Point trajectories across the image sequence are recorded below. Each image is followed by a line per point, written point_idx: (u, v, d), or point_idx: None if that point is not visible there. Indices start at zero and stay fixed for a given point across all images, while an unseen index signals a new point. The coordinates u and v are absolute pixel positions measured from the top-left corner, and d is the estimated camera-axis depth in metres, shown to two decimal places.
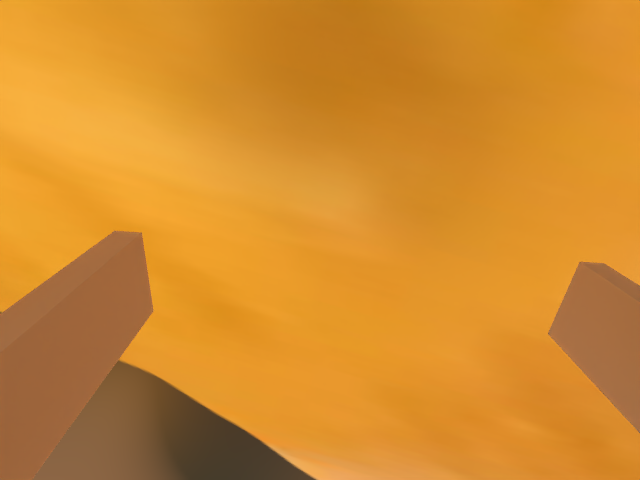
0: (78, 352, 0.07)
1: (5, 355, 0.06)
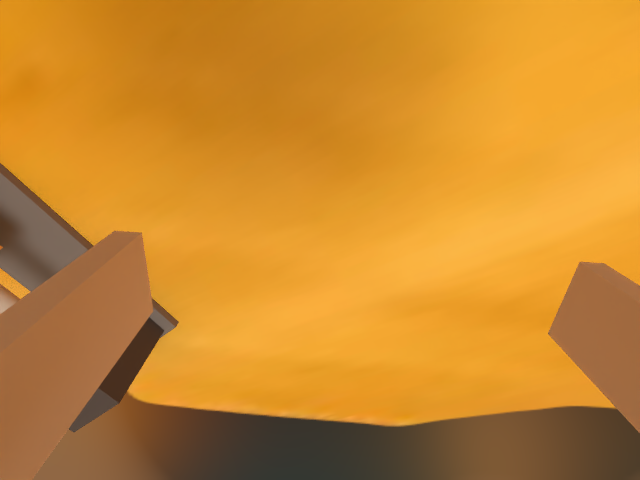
0: (78, 352, 0.07)
1: (5, 355, 0.06)
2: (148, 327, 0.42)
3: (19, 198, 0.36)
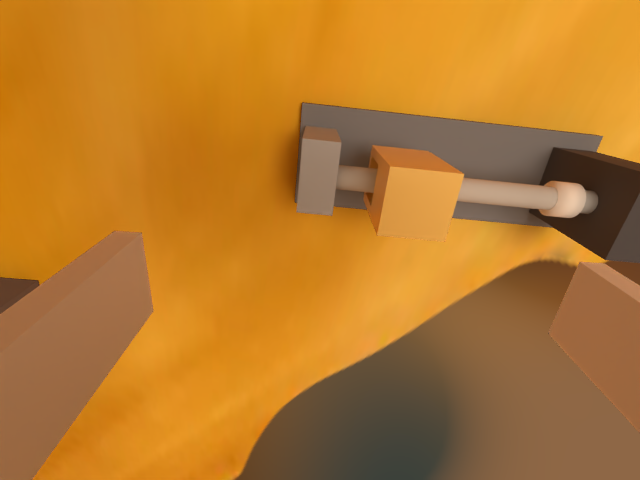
0: (78, 352, 0.07)
1: (5, 355, 0.06)
2: (583, 151, 0.33)
3: (385, 121, 0.33)
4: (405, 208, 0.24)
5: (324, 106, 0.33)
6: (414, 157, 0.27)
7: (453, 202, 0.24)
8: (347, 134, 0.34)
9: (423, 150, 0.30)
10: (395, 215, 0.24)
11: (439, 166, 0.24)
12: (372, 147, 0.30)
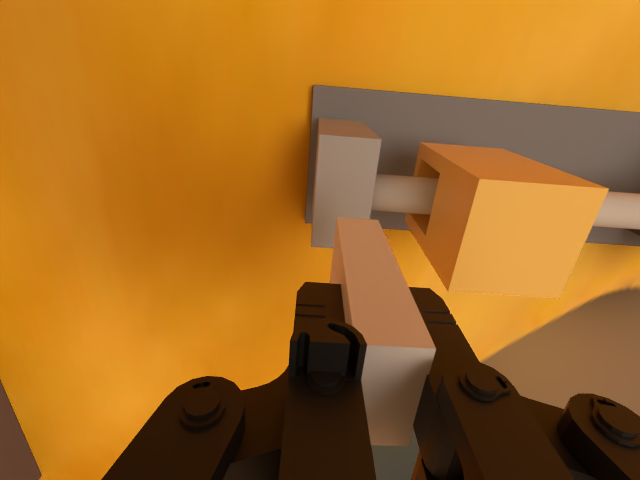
0: None
1: None
2: None
3: (432, 108, 0.24)
4: (500, 247, 0.14)
5: (345, 89, 0.23)
6: (497, 160, 0.17)
7: (582, 236, 0.14)
8: (377, 128, 0.24)
9: (496, 148, 0.20)
10: (481, 260, 0.14)
11: (552, 175, 0.14)
12: (421, 145, 0.20)
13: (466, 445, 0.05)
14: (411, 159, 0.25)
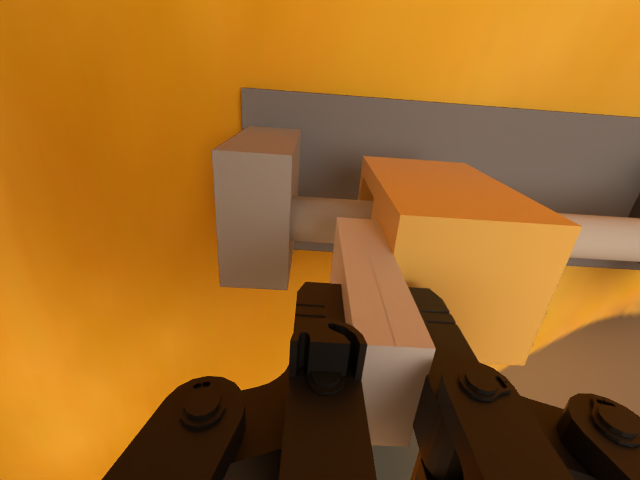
0: None
1: None
2: None
3: (383, 114, 0.20)
4: None
5: (278, 92, 0.20)
6: (446, 180, 0.13)
7: (549, 288, 0.10)
8: (320, 137, 0.21)
9: (456, 162, 0.17)
10: None
11: (509, 204, 0.11)
12: (363, 160, 0.16)
13: (466, 445, 0.05)
14: None
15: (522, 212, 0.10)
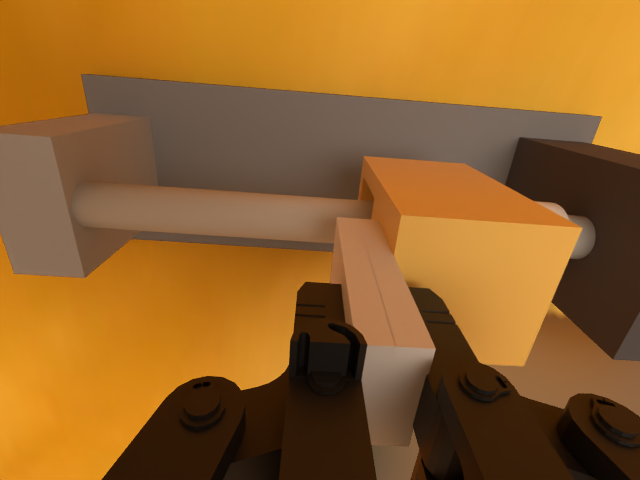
0: None
1: None
2: (568, 143, 0.20)
3: (230, 102, 0.20)
4: None
5: (120, 79, 0.19)
6: (447, 181, 0.13)
7: (549, 289, 0.10)
8: (170, 126, 0.20)
9: (456, 163, 0.17)
10: None
11: (510, 204, 0.11)
12: (364, 160, 0.16)
13: (466, 445, 0.05)
14: (220, 163, 0.21)
15: (522, 213, 0.10)
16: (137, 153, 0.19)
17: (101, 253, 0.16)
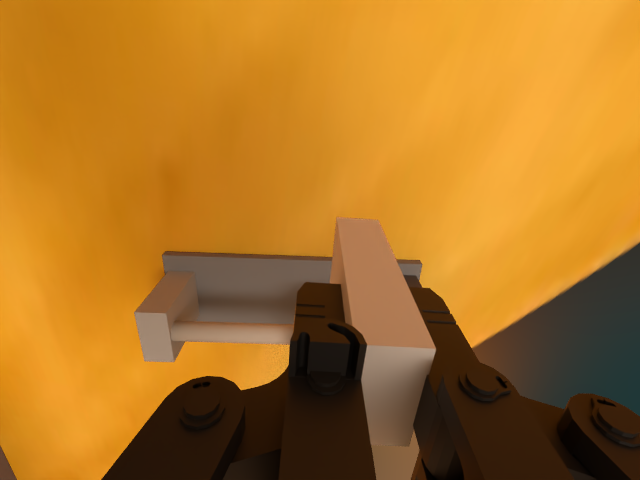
0: None
1: None
2: None
3: (234, 264, 0.40)
4: None
5: (180, 256, 0.39)
6: None
7: None
8: (205, 275, 0.40)
9: None
10: None
11: None
12: None
13: (466, 445, 0.05)
14: (230, 290, 0.41)
15: None
16: (190, 293, 0.39)
17: (178, 348, 0.36)
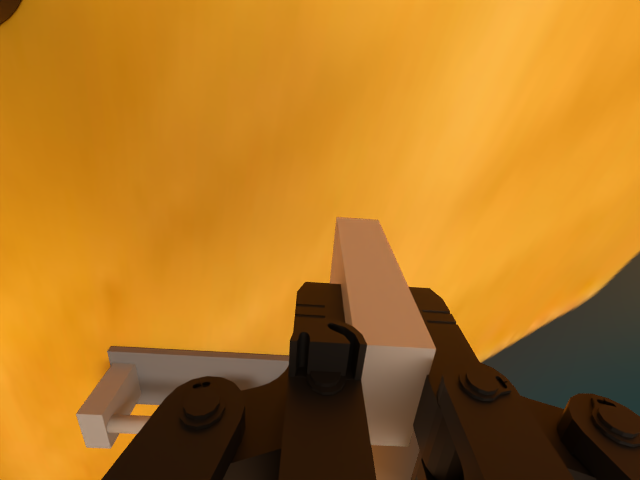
0: None
1: None
2: None
3: (168, 359, 0.48)
4: None
5: (123, 352, 0.47)
6: None
7: None
8: (144, 366, 0.48)
9: None
10: None
11: None
12: None
13: (466, 445, 0.05)
14: (166, 378, 0.49)
15: None
16: (130, 384, 0.47)
17: (116, 435, 0.44)
